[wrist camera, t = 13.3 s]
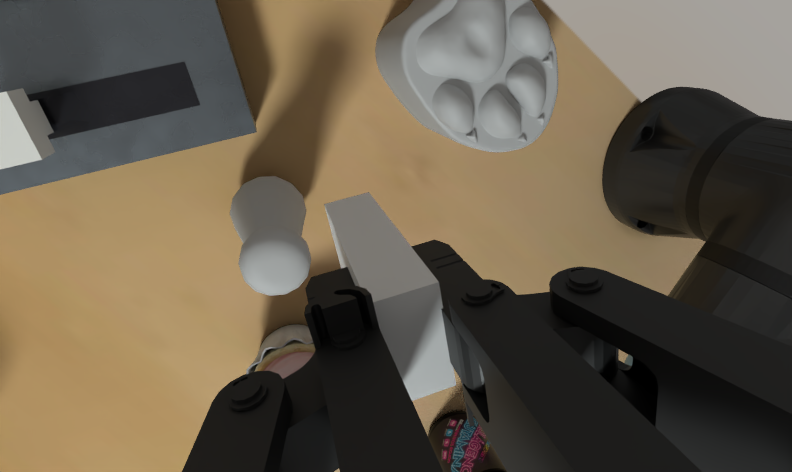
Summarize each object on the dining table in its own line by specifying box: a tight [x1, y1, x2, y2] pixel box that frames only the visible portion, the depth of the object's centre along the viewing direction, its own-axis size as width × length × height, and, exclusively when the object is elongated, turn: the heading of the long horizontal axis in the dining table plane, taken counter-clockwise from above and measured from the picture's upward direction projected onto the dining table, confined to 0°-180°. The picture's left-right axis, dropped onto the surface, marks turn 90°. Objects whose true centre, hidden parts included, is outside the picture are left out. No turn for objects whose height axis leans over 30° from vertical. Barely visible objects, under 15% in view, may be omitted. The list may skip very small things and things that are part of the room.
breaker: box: [0, 88, 55, 169], centre depth 26 cm, size 4×4×5 cm
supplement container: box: [428, 411, 507, 472], centre depth 51 cm, size 7×7×10 cm
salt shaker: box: [230, 176, 311, 296], centre depth 34 cm, size 6×6×13 cm
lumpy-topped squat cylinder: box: [375, 0, 558, 152], centre depth 36 cm, size 10×13×9 cm
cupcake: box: [246, 324, 315, 379], centre depth 41 cm, size 9×9×10 cm
